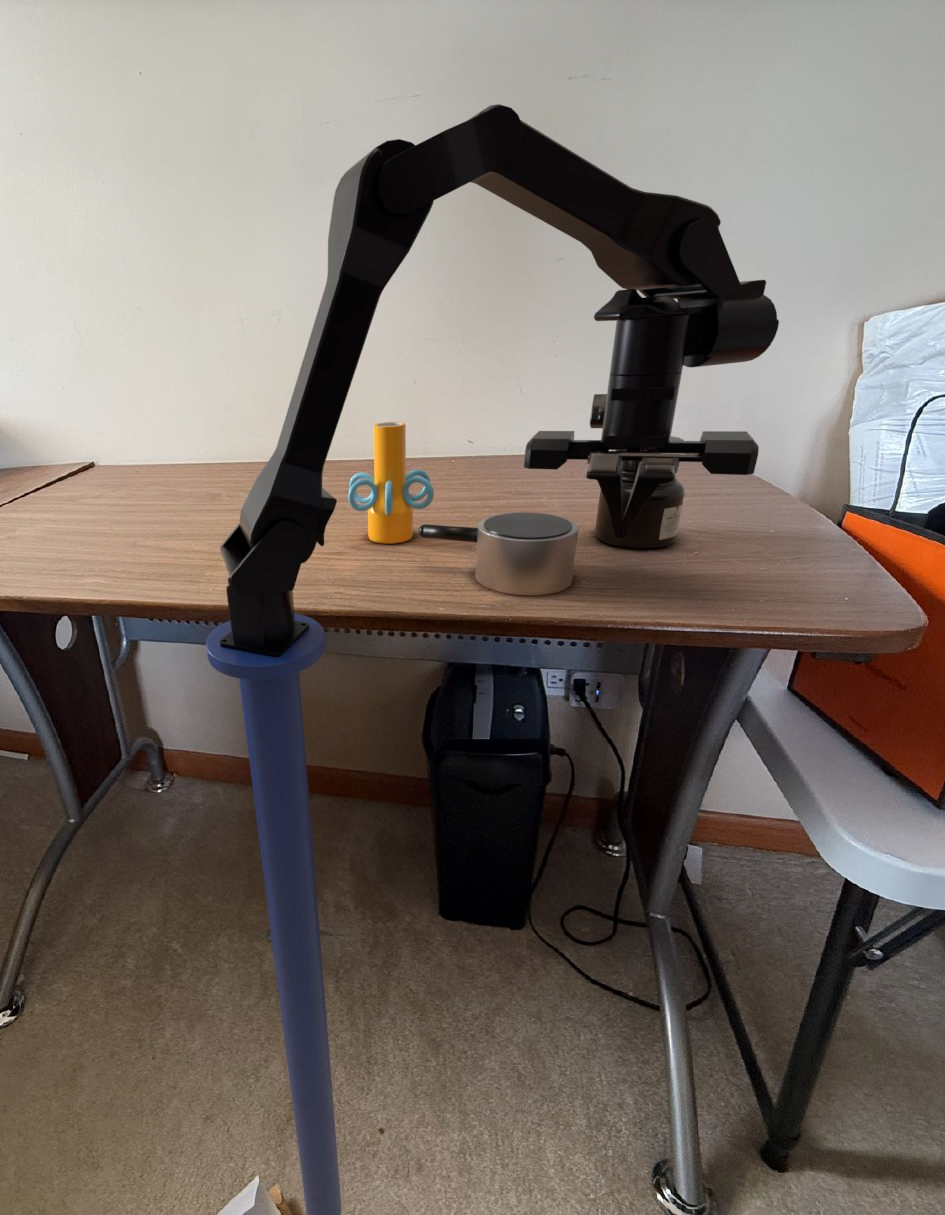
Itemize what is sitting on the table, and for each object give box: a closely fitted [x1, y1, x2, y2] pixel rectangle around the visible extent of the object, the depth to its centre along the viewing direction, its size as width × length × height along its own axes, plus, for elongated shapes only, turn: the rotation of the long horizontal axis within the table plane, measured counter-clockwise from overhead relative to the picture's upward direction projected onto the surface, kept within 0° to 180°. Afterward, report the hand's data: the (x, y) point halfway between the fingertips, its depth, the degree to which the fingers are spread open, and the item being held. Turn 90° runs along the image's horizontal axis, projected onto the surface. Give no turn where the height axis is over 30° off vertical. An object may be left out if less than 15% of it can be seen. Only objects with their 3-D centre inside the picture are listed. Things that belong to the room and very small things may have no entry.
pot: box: [417, 511, 579, 597], centre depth 69 cm, size 17×10×6 cm, turn 62°
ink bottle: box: [594, 435, 686, 549], centre depth 75 cm, size 10×9×12 cm
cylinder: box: [347, 421, 435, 545], centre depth 82 cm, size 12×10×15 cm
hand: (619, 537), depth 63 cm, fingers closed
